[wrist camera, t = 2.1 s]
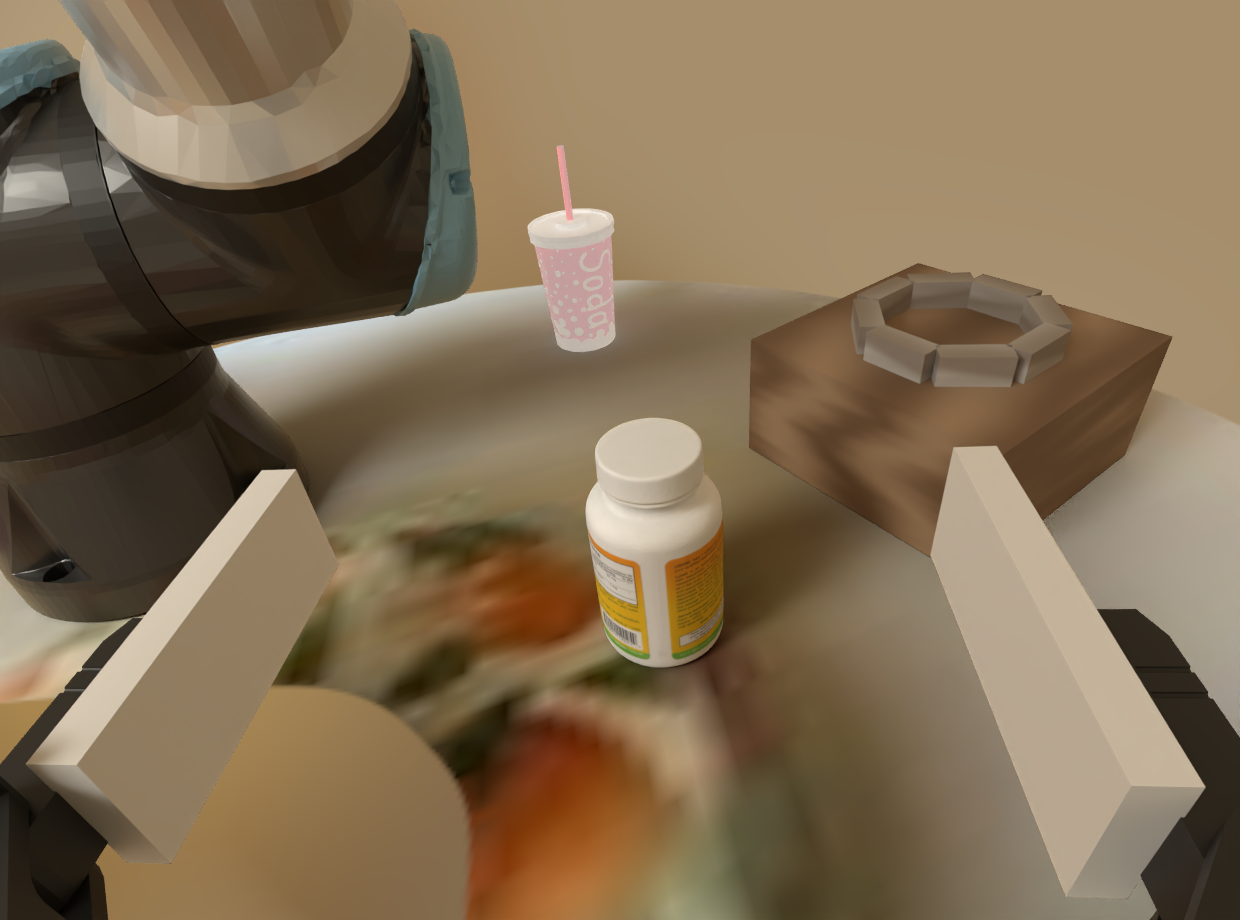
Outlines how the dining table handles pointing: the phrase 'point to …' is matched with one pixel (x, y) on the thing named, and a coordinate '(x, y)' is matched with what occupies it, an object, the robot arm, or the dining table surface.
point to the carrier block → (946, 393)
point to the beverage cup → (577, 271)
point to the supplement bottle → (656, 543)
